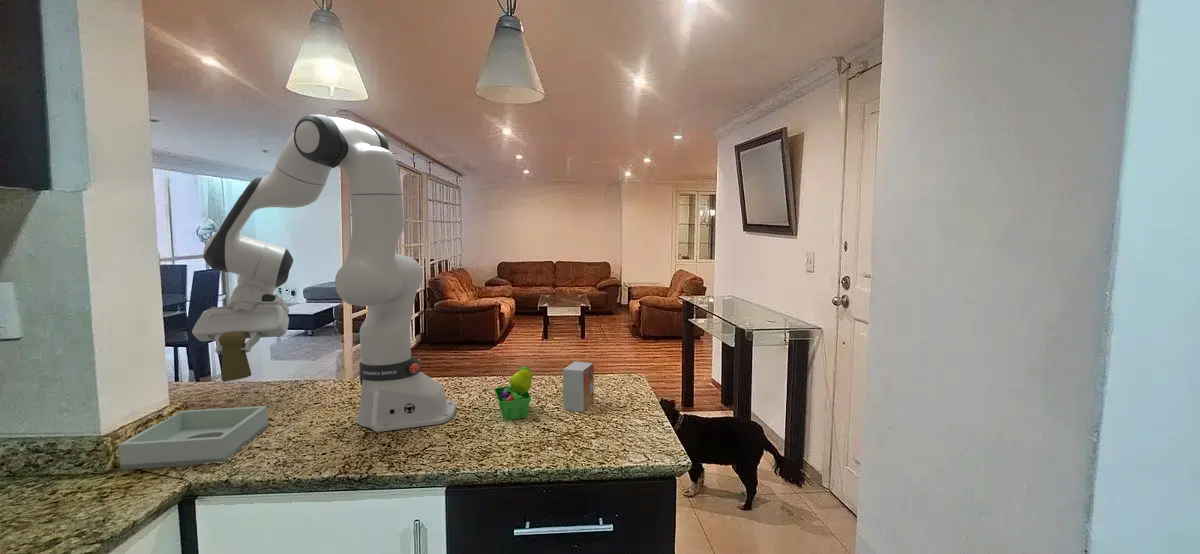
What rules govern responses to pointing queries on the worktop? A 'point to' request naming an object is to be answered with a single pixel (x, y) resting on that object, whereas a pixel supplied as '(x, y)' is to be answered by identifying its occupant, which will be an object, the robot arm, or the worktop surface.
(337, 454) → the worktop surface
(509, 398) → the fruit basket
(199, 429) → the grey square tray
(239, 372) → the cork
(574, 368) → the small box
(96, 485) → the worktop surface
